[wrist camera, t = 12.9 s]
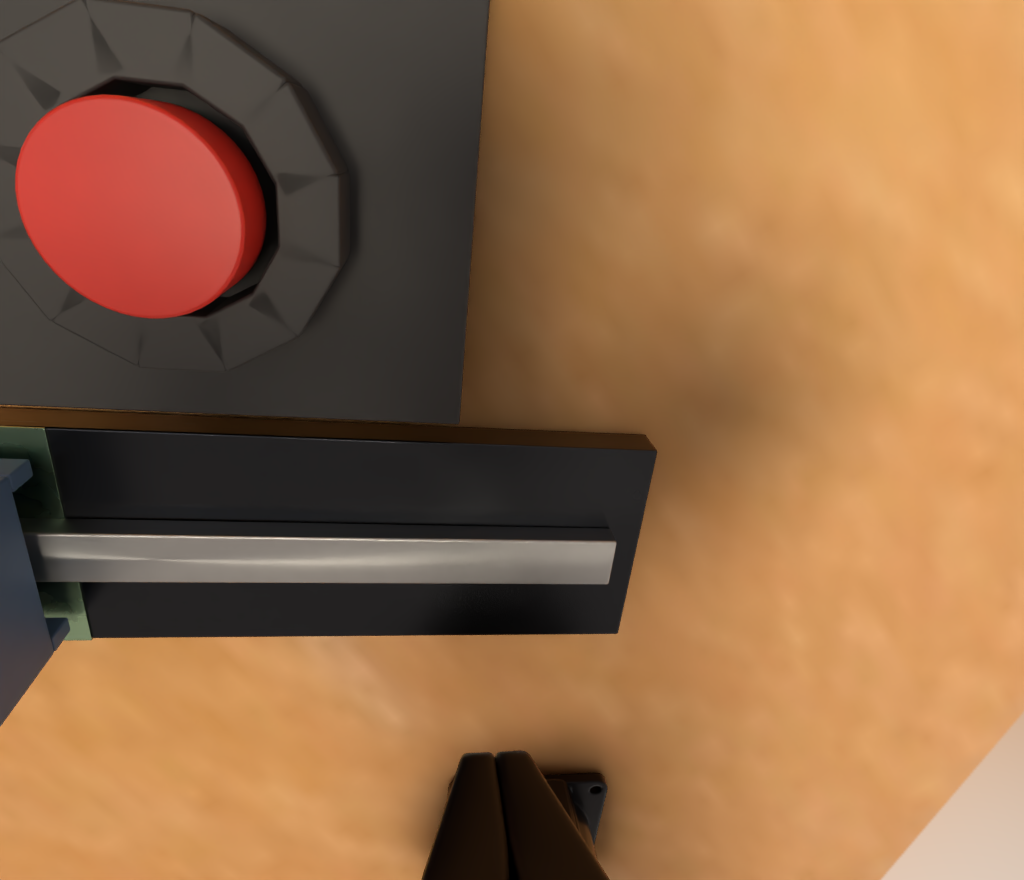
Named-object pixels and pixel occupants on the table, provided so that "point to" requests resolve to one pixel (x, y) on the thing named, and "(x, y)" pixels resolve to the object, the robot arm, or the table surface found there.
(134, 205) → the button
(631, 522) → the rail
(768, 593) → the table surface
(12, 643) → the blue cube with peg
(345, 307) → the box
